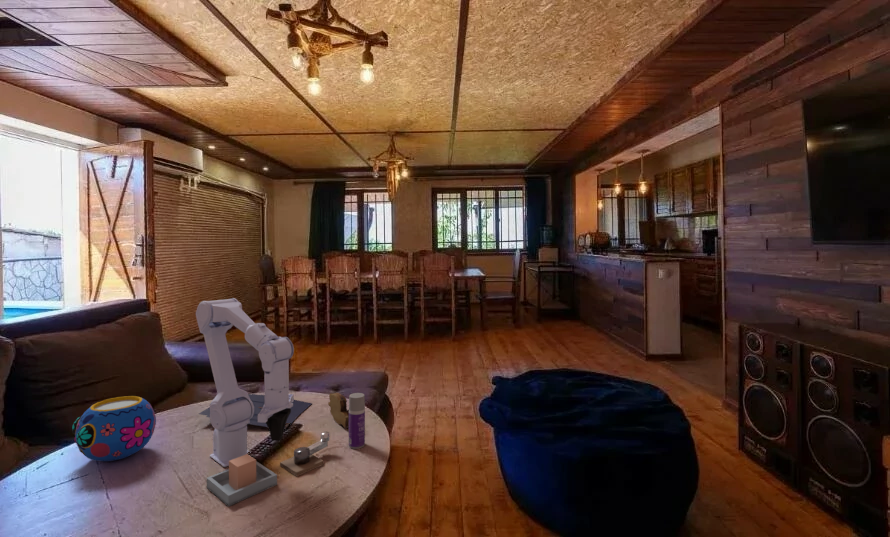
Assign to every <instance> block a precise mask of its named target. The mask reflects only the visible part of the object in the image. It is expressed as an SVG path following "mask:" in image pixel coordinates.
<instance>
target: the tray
mask: <svg viewBox="0 0 890 537" xmlns="http://www.w3.org/2000/svg"><path fill="white" fill-rule="evenodd" d="M277 485H278V474H276V473H275V472H274V471H272V470H270V469H269V468H267V467H266V466H264V465H263V464H261V463H260V462H258V461H257V460H256V482H255V483H252V484H250V485H248V486H245V487H243V488H241V489H238V490H235V489H233V488H232V487H231V486H230V485H229V468H228V469H226V470H223V471H221V472H218V473H215V474H212V475H210V476H207V477H206V489H208V490H209V491H210V492H211V493H212V494H213V495H214V496H216V497H217V498H218V499H219V500H220V501H221V502H222V503H223V504H225V505H226V506H227V507H230V506H233V505H235V504H237V503H240V502H242V501H244V500H246V499H249V498H251V497H253V496H255V495H258V494H260V493H263V492H264V491H266V490H268V489H271V488H273V487H275V486H277Z"/></svg>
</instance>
